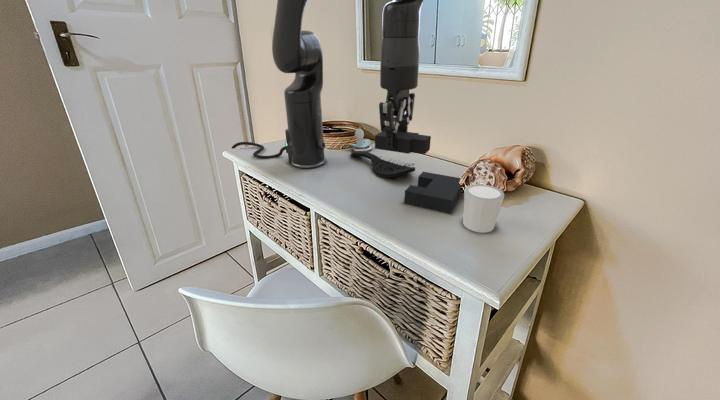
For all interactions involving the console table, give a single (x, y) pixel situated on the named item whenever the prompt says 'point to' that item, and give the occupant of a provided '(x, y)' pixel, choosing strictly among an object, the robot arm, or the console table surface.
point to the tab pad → (405, 142)
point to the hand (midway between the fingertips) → (396, 145)
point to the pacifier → (361, 142)
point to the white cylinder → (481, 207)
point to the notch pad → (434, 192)
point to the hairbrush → (385, 165)
